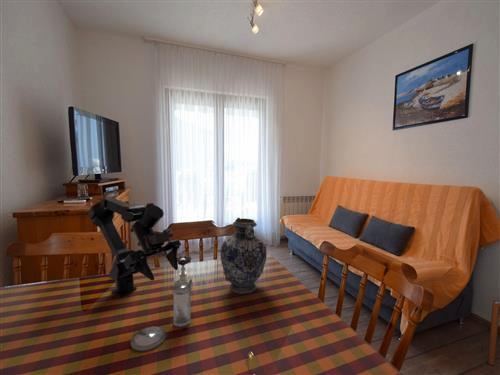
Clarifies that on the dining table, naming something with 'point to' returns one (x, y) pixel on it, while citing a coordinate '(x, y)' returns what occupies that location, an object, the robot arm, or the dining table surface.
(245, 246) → the decorative vase
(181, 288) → the grey piece
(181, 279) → the valve
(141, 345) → the silver flat disc
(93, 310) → the dining table surface
